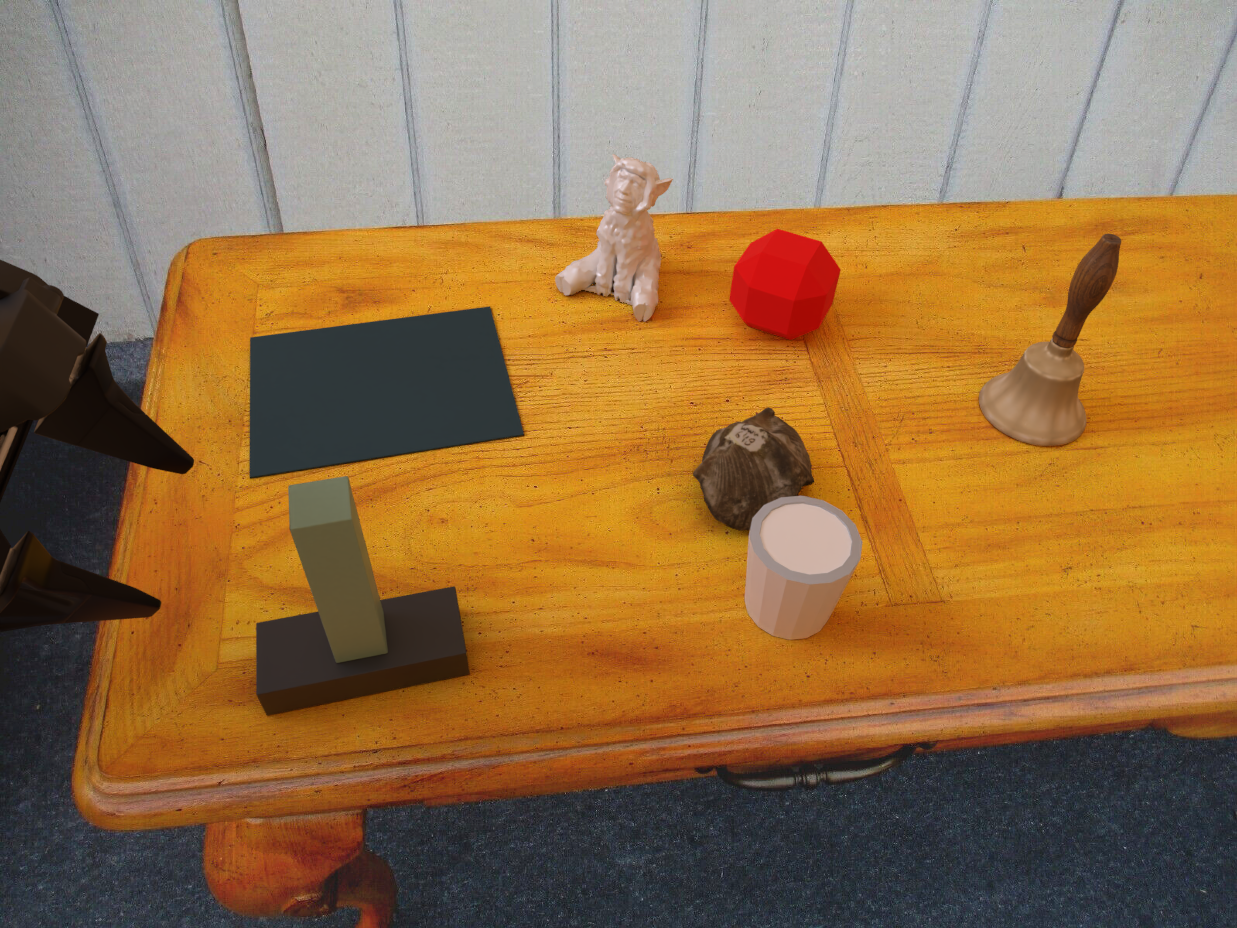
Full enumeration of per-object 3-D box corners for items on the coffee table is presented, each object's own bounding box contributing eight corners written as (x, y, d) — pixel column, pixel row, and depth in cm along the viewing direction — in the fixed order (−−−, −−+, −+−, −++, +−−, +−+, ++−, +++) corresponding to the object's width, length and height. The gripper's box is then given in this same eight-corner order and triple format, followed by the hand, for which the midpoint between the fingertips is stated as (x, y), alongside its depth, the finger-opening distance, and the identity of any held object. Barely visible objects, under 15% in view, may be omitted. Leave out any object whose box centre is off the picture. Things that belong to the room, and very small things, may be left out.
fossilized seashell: (769, 401, 72) (660, 465, 70) (802, 376, 66) (683, 446, 63) (821, 486, 72) (714, 553, 69) (859, 469, 65) (742, 543, 63)
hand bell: (956, 394, 77) (1024, 224, 65) (1029, 364, 80) (1107, 196, 68) (1032, 461, 72) (1120, 290, 61) (1107, 425, 75) (1205, 256, 64)
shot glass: (719, 622, 62) (732, 556, 56) (756, 547, 66) (771, 479, 61) (821, 664, 60) (844, 600, 54) (852, 584, 64) (876, 518, 59)
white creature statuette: (551, 294, 84) (548, 171, 76) (595, 245, 90) (597, 125, 81) (648, 326, 82) (657, 203, 73) (687, 273, 87) (700, 153, 78)
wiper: (266, 716, 56) (191, 562, 45) (265, 644, 59) (195, 484, 48) (470, 674, 58) (445, 518, 47) (458, 608, 62) (433, 447, 51)
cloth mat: (249, 478, 69) (249, 477, 68) (250, 338, 79) (250, 337, 79) (524, 435, 72) (524, 434, 72) (490, 307, 83) (490, 306, 83)
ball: (834, 309, 84) (853, 235, 79) (806, 362, 79) (823, 287, 74) (750, 283, 86) (762, 209, 81) (717, 332, 82) (727, 258, 76)
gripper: (-233, 443, 29) (235, 613, 38) (-33, 139, 42) (284, 323, 51) (-336, 613, 34) (102, 727, 43) (-129, 294, 47) (176, 436, 56)
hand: (174, 534), depth 48 cm, fingers open, 9 cm apart
